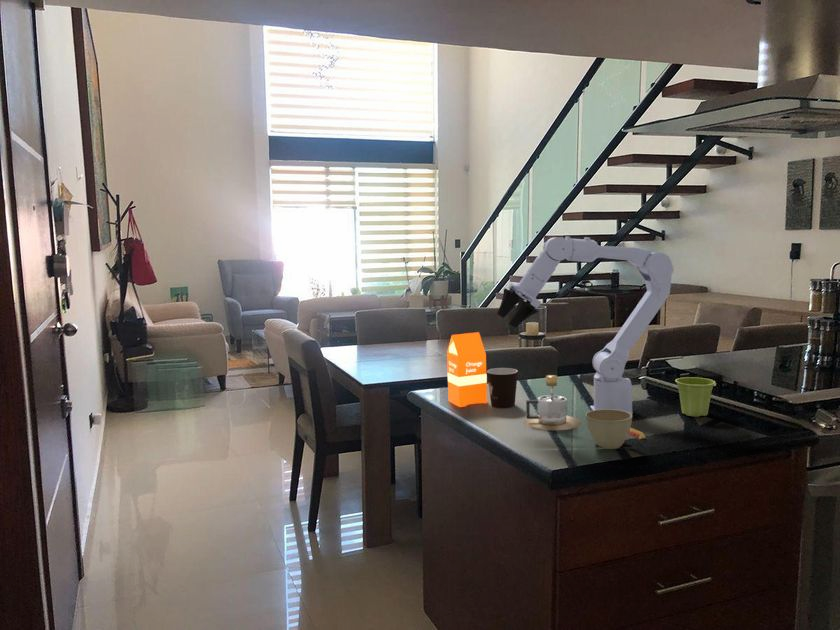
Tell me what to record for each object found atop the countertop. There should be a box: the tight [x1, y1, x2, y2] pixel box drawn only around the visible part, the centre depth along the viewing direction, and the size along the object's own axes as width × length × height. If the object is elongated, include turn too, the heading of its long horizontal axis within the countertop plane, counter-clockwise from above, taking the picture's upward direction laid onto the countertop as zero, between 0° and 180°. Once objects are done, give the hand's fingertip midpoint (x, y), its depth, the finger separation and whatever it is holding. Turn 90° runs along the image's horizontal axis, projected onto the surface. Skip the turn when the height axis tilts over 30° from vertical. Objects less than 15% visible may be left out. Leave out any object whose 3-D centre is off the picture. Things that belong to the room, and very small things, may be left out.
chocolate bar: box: [628, 427, 646, 440], centre depth 155 cm, size 3×12×2 cm, turn 20°
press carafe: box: [525, 394, 568, 426], centre depth 165 cm, size 10×7×6 cm
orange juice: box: [446, 331, 488, 408], centre depth 188 cm, size 8×9×20 cm
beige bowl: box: [585, 409, 633, 450], centre depth 146 cm, size 10×10×7 cm
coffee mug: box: [486, 367, 519, 409], centre depth 184 cm, size 12×9×10 cm
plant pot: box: [674, 376, 716, 418], centre depth 168 cm, size 9×9×9 cm
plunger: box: [542, 374, 563, 402], centre depth 164 cm, size 5×5×6 cm
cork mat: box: [523, 414, 582, 431], centre depth 165 cm, size 14×14×1 cm
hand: (506, 320), depth 172 cm, fingers open, 7 cm apart
